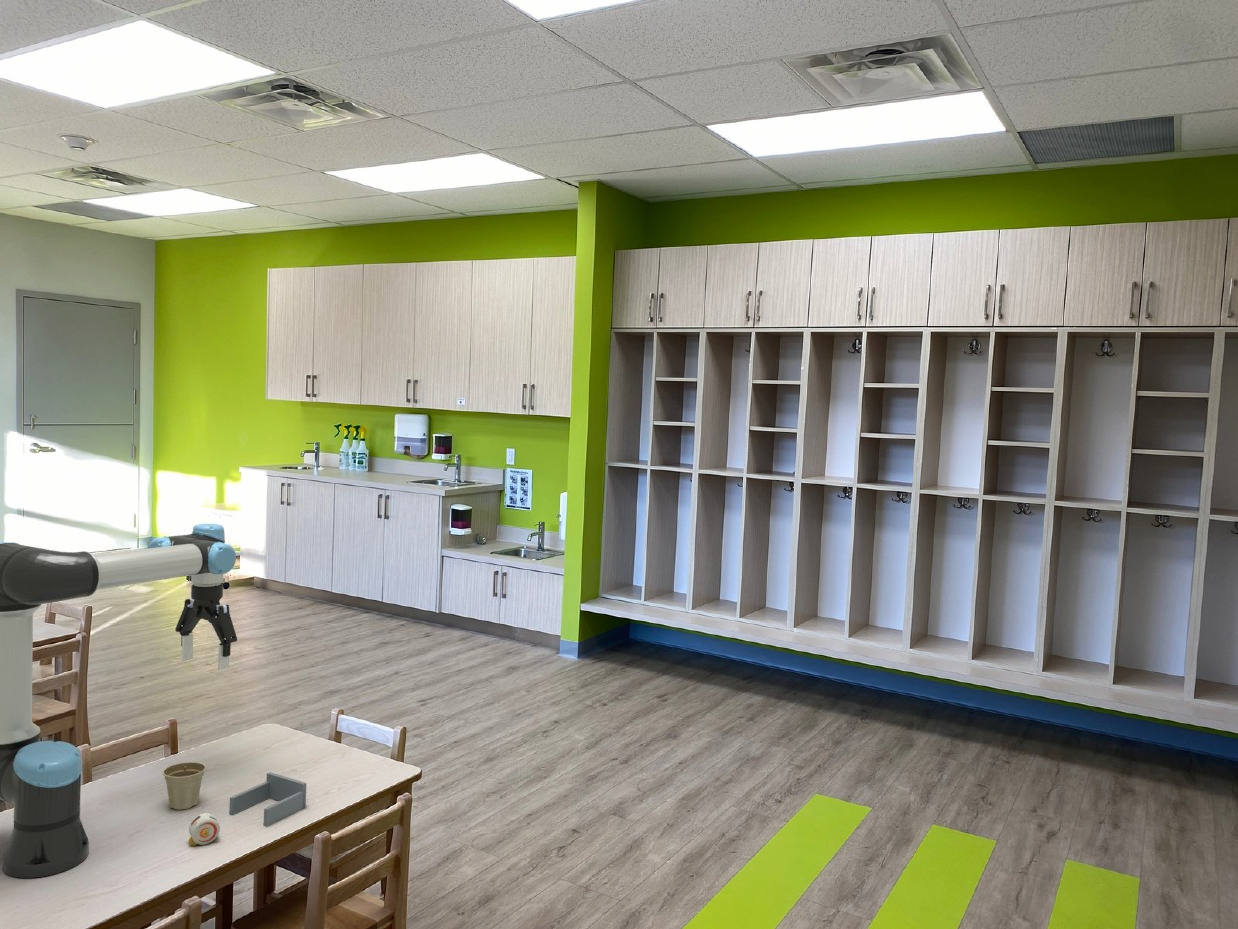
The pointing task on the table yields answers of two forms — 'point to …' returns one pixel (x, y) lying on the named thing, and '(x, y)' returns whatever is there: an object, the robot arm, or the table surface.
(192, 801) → the flower pot
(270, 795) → the bin
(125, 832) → the table surface
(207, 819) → the roller toy
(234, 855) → the table surface
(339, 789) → the table surface
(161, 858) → the table surface
